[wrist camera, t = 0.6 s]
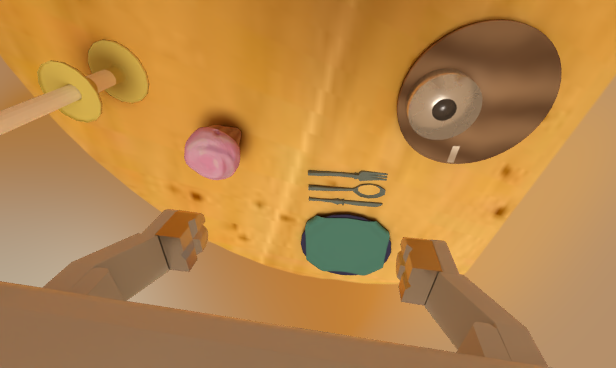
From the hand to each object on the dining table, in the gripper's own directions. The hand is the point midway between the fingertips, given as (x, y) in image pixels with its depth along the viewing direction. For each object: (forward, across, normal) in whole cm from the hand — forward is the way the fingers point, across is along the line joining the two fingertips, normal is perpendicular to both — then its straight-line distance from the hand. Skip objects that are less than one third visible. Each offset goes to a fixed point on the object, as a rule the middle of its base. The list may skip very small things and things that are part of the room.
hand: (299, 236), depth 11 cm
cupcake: (+36, +19, +11) cm, 42 cm away
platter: (+34, -19, +2) cm, 39 cm away
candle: (+35, +36, +2) cm, 50 cm away
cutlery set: (+38, -4, +31) cm, 50 cm away
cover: (+33, -14, +2) cm, 36 cm away
